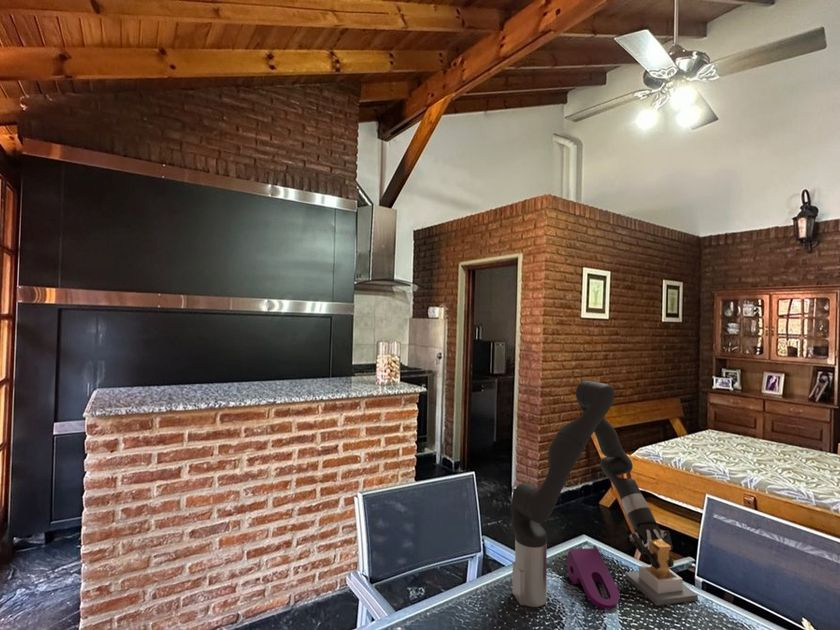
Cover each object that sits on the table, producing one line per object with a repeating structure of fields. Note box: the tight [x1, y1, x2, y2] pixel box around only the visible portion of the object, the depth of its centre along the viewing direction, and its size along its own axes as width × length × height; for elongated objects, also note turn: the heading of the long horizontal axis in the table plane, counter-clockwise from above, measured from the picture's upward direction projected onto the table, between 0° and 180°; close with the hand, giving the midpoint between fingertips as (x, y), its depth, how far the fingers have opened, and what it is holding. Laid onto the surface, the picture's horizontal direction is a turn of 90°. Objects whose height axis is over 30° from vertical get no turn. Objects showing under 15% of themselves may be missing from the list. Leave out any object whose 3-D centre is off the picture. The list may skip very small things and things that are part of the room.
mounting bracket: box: [566, 547, 620, 610], centre depth 135 cm, size 9×8×18 cm
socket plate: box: [625, 564, 699, 606], centre depth 135 cm, size 14×14×5 cm
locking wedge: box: [650, 539, 672, 579], centre depth 136 cm, size 4×4×11 cm
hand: (664, 567), depth 134 cm, fingers closed on locking wedge, 4 cm apart
